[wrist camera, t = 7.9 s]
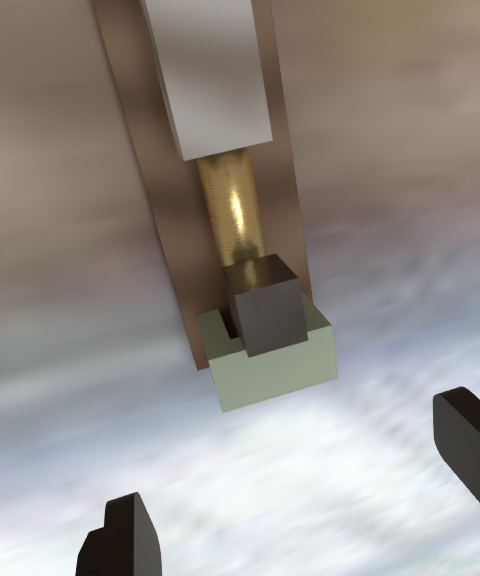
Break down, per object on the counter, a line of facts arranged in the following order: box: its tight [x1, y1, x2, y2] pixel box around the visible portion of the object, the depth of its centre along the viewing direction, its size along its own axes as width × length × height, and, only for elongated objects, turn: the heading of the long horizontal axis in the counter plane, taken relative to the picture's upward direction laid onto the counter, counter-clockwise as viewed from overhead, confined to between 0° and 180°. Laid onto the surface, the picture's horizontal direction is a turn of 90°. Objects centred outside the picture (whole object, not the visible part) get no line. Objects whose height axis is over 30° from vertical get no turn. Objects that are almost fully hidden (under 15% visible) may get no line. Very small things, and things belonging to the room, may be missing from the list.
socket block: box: [196, 291, 338, 413], centre depth 31 cm, size 4×8×6 cm, turn 101°
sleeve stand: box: [93, 0, 313, 370], centre depth 28 cm, size 26×10×6 cm, turn 11°
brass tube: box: [196, 146, 308, 358], centre depth 26 cm, size 17×4×8 cm, turn 11°
